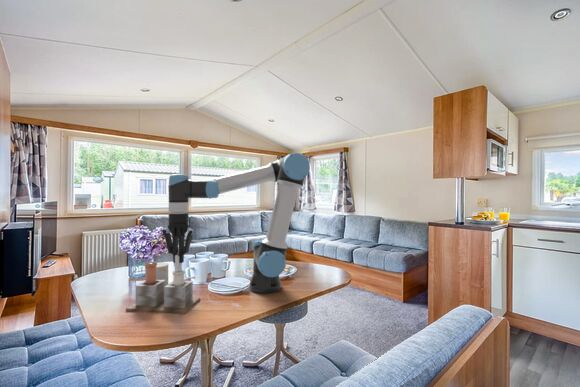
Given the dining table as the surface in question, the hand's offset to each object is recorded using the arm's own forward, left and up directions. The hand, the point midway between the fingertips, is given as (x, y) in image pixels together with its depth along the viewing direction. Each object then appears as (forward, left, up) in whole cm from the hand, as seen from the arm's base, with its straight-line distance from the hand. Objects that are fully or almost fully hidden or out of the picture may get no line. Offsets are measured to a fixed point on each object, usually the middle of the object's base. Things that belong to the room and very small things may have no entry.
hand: (178, 270), depth 117 cm
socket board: (+6, 0, -14) cm, 16 cm away
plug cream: (0, 0, -10) cm, 10 cm away
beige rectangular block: (+18, -16, -15) cm, 28 cm away
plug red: (+12, 0, -7) cm, 14 cm away
